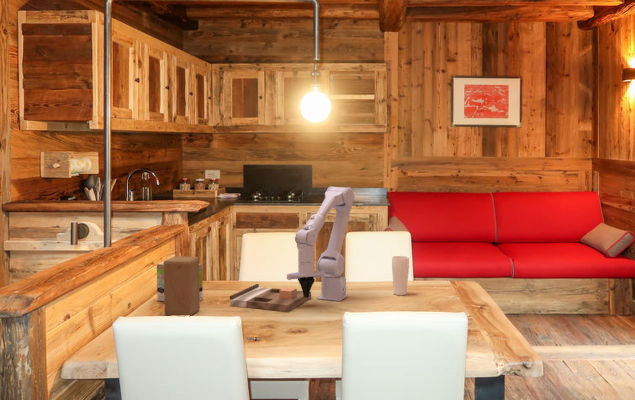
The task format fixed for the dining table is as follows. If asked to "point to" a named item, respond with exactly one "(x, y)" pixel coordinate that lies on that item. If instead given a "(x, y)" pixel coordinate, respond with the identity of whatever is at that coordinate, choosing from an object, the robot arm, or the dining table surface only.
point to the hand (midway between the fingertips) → (306, 297)
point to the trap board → (266, 299)
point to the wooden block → (181, 285)
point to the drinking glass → (400, 274)
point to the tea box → (161, 282)
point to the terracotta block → (288, 293)
